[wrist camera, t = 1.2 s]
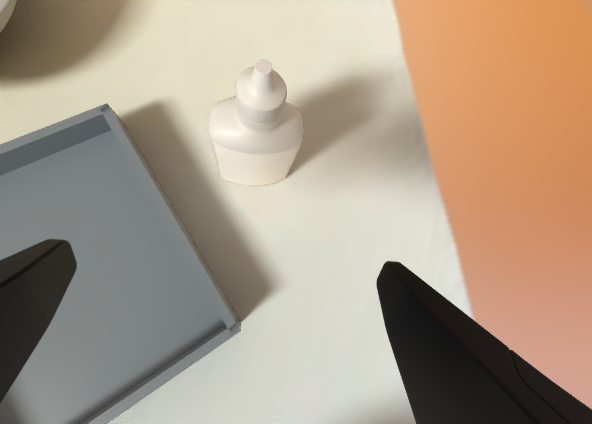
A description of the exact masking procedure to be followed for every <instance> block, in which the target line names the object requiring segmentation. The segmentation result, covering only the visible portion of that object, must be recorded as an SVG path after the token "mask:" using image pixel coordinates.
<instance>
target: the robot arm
mask: <svg viewBox="0 0 592 424" xmlns="http://www.w3.org/2000/svg"><path fill="white" fill-rule="evenodd" d="M76 269H77V262H76V259H75V256H74V253H73V250H72V247H71V244H70V243H69V242H68V241H67V240H62V239H47V240H44V241H42V242H40V243H38V244H35V245H33V246H31V247H29V248H26V249H24V250H22V251H20V252H17V253H15V254H13V255H11V256H8V257H6V258H4V259H2V260H0V404H1V402H2V401H3V399H4V397H5V396H6V394H7V393H8V391H9V389H10V388H11V386H12V385H13V383H14V381H15V380H16V378H17V377H18V375H19V373H20V372H21V370H22V369H23V367H24V365H25V364H26V362H27V361H28V359H29V357H30V356H31V354H32V353H33V351H34V349H35V348H36V346H37V345H38V343H39V341H40V340H41V338H42V337H43V335H44V333H45V332H46V330H47V328H48V327H49V325H50V323H51V321H52V319H53V317H54V315H55V313H56V311H57V309H58V307H59V305H60V303H61V301H62V299H63V297H64V295H65V293H66V291H67V288H68V286H69V284H70V282H71V280H72V278H73V276H74V274H75V272H76ZM377 290H378V295H379V299H380V304H381V309H382V313H383V318H384V323H385V327H386V331H387V334H388V338H389V341H390V344H391V347H392V350H393V353H394V356H395V359H396V362H397V365H398V368H399V372H400V375H401V378H402V381H403V384H404V387H405V390H406V393H407V396H408V399H409V402H410V405H411V408H412V412H413V415H414V418H415V421H416V424H592V409H590V408H589V407H587V406H586V405H585V404H583V403H582V402H580V401H579V400H577V399H576V398H575V397H573V396H572V395H571V394H569V393H568V392H566V391H565V390H564V389H562V388H561V387H560V386H558V385H557V384H555V383H554V382H552V381H551V380H550V379H548V378H547V377H546V376H545V375H543V374H542V373H540V372H539V371H538V370H537V369H535V368H534V367H533V366H531V365H530V364H529V363H528V362H526V361H525V360H524V359H522V358H521V357H520V356H519V355H517V354H516V353H515V352H514V351H512V350H509V348H508V347H507V346H506V345H504V344H503V343H502V342H501V341H499V340H498V339H497V338H496V337H494V336H493V335H492V334H490V333H489V332H488V331H487V330H485V329H484V328H483V327H481V326H480V325H479V324H478V323H476V322H475V321H474V320H473V319H471V318H470V317H469V316H468V315H466V314H465V313H464V312H462V311H461V310H460V309H459V308H457V307H456V306H455V305H454V304H452V303H451V302H450V301H448V300H447V299H446V298H445V297H443V296H442V295H441V294H439V293H438V292H437V291H436V290H434V289H433V288H432V287H431V286H429V285H428V284H427V283H425V282H424V281H423V280H422V279H420V278H419V277H418V276H417V275H415V274H414V273H413V272H411V271H410V270H409V269H408V268H406V267H405V266H404V265H402V264H401V263H400V262H394V261H387V262H385V264H384V265H383V268H382V270H381V272H380V274H379V276H378V278H377Z"/></svg>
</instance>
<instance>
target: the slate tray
mask: <svg viewBox="0 0 592 424" xmlns="http://www.w3.org/2000/svg"><path fill="white" fill-rule="evenodd" d="M47 239H62V240H67V241H68V242H69V243H70V244H71V247H72V250H73V253H74V256H75V259H76V262H77V269H76V272H75V274H74V276H73V278H72V280H71V282H70V284H69V286H68V288H67V291H66V293H65V295H64V297H63V299H62V301H61V303H60V305H59V307H58V309H57V311H56V313H55V315H54V317H53V319H52V321H51V323H50V325H49V327H48V328H47V330H46V332H45V333H44V335H43V337H42V338H41V340H40V341H39V343H38V345H37V346H36V348H35V349H34V351H33V353H32V354H31V356H30V357H29V359H28V361H27V362H26V364H25V365H24V367H23V369H22V370H21V372H20V373H19V375H18V377H17V378H16V380H15V381H14V383H13V385H12V386H11V388H10V389H9V391H8V393H7V394H6V396H5V397H4V399H3V401H2V402H1V404H0V424H107V423H108V422H110V421H111V420H113V419H114V418H116V417H117V416H119V415H120V414H121V413H123V412H124V411H126V410H127V409H129V408H130V407H132V406H133V405H134V404H136V403H137V402H139V401H140V400H142V399H143V398H145V397H146V396H147V395H149V394H150V393H152V392H153V391H155V390H156V389H158V388H159V387H160V386H162V385H163V384H165V383H166V382H168V381H169V380H171V379H172V378H173V377H175V376H176V375H178V374H179V373H181V372H182V371H184V370H185V369H186V368H188V367H189V366H191V365H192V364H194V363H195V362H197V361H198V360H199V359H201V358H202V357H204V356H205V355H207V354H208V353H210V352H211V351H212V350H214V349H215V348H217V347H218V346H220V345H221V344H222V343H224V342H225V341H227V340H228V339H230V338H231V337H233V336H234V335H235V334H237V333H238V332H240V331H241V322H240V320H239V319H238V317H237V315H236V313H235V312H234V310H233V308H232V307H231V305H230V303H229V302H228V300H227V298H226V296H225V295H224V293H223V291H222V290H221V288H220V286H219V285H218V283H217V281H216V279H215V278H214V276H213V274H212V273H211V271H210V269H209V268H208V266H207V264H206V263H205V261H204V259H203V257H202V256H201V254H200V252H199V251H198V249H197V247H196V246H195V244H194V242H193V240H192V239H191V237H190V235H189V234H188V232H187V230H186V229H185V227H184V225H183V223H182V222H181V220H180V218H179V217H178V215H177V213H176V212H175V210H174V208H173V206H172V205H171V203H170V201H169V200H168V198H167V196H166V195H165V193H164V191H163V189H162V188H161V186H160V184H159V183H158V181H157V179H156V178H155V176H154V174H153V172H152V171H151V169H150V167H149V166H148V164H147V162H146V161H145V159H144V157H143V155H142V154H141V152H140V150H139V149H138V147H137V145H136V144H135V142H134V140H133V139H132V137H131V135H130V133H129V132H128V130H127V128H126V127H125V125H124V123H123V122H122V121H121V120H120V119H119V117H118V116H117V115H116V114H115V112H114V111H113V110H112V109H111V107H110V106H109V105H108V104H104V105H102V106H99V107H96V108H94V109H91V110H89V111H86V112H83V113H81V114H78V115H76V116H73V117H71V118H68V119H65V120H63V121H60V122H58V123H55V124H52V125H50V126H47V127H45V128H42V129H40V130H37V131H34V132H32V133H29V134H27V135H24V136H21V137H19V138H16V139H14V140H11V141H9V142H6V143H3V144H1V145H0V260H2V259H4V258H6V257H8V256H11V255H13V254H15V253H17V252H20V251H22V250H24V249H26V248H29V247H31V246H33V245H35V244H38V243H40V242H42V241H44V240H47Z"/></svg>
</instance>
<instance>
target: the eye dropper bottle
mask: <svg viewBox="0 0 592 424" xmlns="http://www.w3.org/2000/svg"><path fill="white" fill-rule="evenodd" d="M286 96H287V89H286V85H285V82H284V80H283V79H282V78H281V76H280V75H279V74H278V73H277V72H275V71H274V70H272V65H271V63H270V62H269V61H267V60H259V61H257V63H256V65H255V66H254V67H250V68H247V69H245V70H244V71H243V72H241V74H240V75H239V76H238V78H237V80H236V85H235V96H234V97H231V98H228V99H225V100H222V101H220V102H218V103H216V104H215V105H213V106H212V107H211V109H210V112H209V137H210V142H211V146H212V151H213V155H214V159H215V163H216V167H217V171H218V174H219V176H220V177H221V178H222V179H223V180H225V181H227V182H230V183H233V184H236V185H240V186H247V187H261V186H267V185H271V184H275V183H277V182H280V181H282V180H284V179H285V178H286V177H287V175H288V172H289V170H290V168H291V166H292V164H293V162H294V160H295V158H296V155H297V153H298V151H299V149H300V146H301V144H302V141H303V137H304V126H303V117H302V114H301V112H300V111H299V110H298V109H297V108H295V107H294V106H292V105H290V104H289V103H287V102H285V100H286Z"/></svg>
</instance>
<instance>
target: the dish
mask: <svg viewBox="0 0 592 424" xmlns="http://www.w3.org/2000/svg"><path fill="white" fill-rule="evenodd" d="M16 2H17V0H0V33H1V31H2V30H3V29H4V27H5V26H6V24H7V22H8V21H9V19H10V17H11V15H12V13H13V11H14V8H15V5H16Z"/></svg>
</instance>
